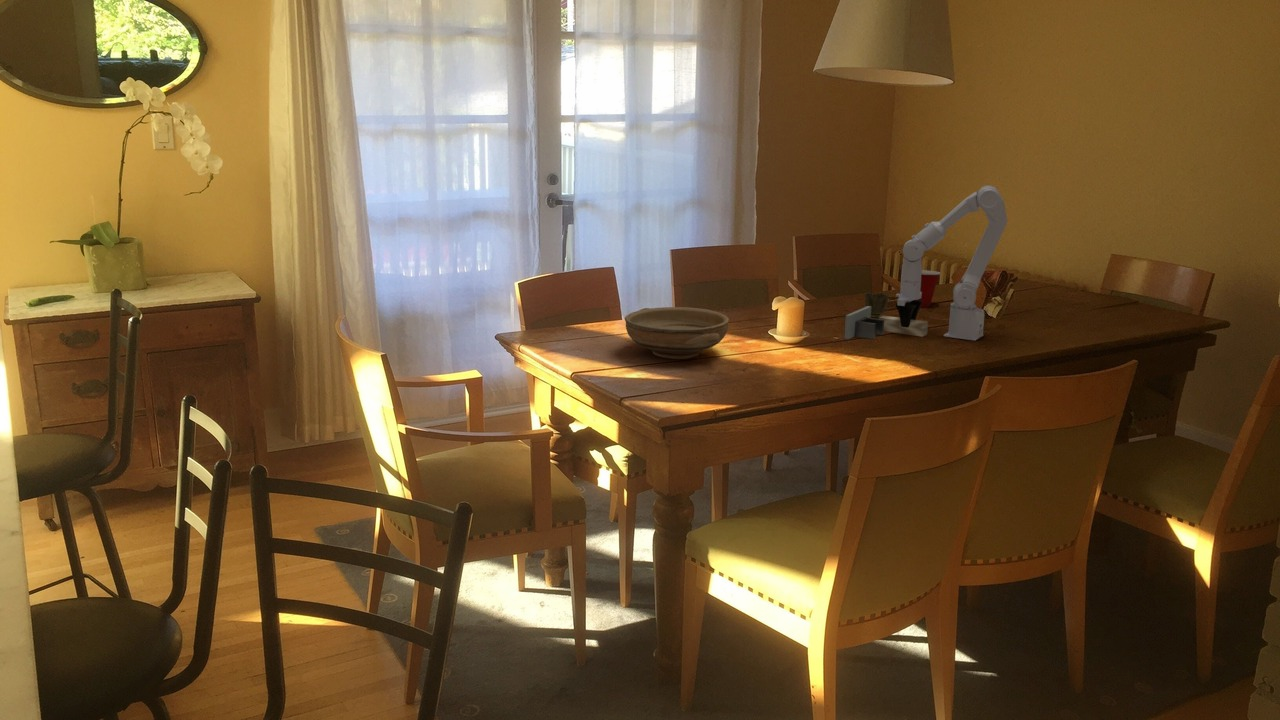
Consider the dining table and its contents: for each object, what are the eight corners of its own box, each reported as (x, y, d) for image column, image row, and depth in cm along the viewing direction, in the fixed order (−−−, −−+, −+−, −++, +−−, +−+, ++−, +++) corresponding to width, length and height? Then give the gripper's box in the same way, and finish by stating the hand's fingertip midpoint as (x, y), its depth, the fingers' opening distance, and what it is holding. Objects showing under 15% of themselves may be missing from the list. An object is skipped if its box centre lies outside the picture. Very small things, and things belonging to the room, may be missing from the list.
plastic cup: (942, 304, 343) (945, 269, 340) (932, 310, 334) (935, 274, 331) (910, 301, 349) (913, 266, 346) (900, 306, 340) (903, 271, 337)
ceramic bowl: (600, 344, 289) (599, 310, 287) (686, 333, 302) (686, 300, 300) (664, 375, 258) (664, 337, 255) (757, 362, 271) (758, 325, 268)
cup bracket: (883, 334, 301) (884, 319, 300) (873, 339, 295) (874, 324, 294) (864, 331, 304) (865, 317, 303) (854, 336, 299) (855, 321, 297)
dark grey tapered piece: (885, 316, 325) (887, 291, 323) (888, 321, 318) (890, 296, 316) (861, 315, 326) (863, 291, 324) (864, 320, 319) (866, 295, 317)
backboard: (869, 329, 308) (871, 306, 306) (848, 339, 295) (849, 315, 293) (866, 328, 308) (867, 306, 307) (844, 338, 296) (845, 315, 294)
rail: (927, 334, 301) (928, 321, 300) (922, 337, 299) (923, 323, 298) (883, 328, 310) (883, 315, 309) (878, 330, 307) (878, 317, 306)
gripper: (906, 275, 307) (903, 319, 311) (888, 282, 296) (885, 328, 299) (929, 278, 303) (926, 322, 307) (912, 285, 292) (908, 331, 295)
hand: (907, 325), depth 303 cm, fingers closed on rail, 4 cm apart
